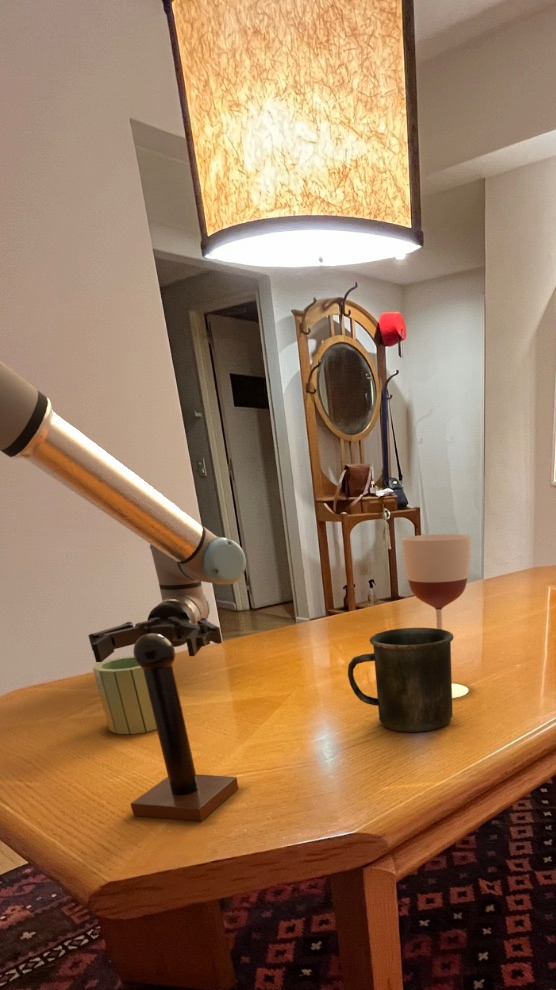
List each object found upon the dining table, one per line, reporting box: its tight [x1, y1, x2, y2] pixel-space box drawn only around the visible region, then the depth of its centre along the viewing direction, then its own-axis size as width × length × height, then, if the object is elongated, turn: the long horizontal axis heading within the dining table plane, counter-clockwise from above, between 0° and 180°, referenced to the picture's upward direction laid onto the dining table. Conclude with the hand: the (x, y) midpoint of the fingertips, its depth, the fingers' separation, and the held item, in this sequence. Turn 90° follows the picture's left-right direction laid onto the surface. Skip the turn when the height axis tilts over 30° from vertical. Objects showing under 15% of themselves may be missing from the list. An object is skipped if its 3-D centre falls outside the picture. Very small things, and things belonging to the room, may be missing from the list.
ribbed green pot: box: [92, 655, 157, 735], centre depth 95 cm, size 8×8×9 cm
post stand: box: [130, 633, 239, 822], centre depth 70 cm, size 8×8×18 cm
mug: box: [347, 627, 455, 733], centre depth 92 cm, size 11×15×12 cm
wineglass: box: [401, 533, 472, 699], centre depth 103 cm, size 9×10×23 cm
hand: (143, 650), depth 102 cm, fingers open, 13 cm apart
